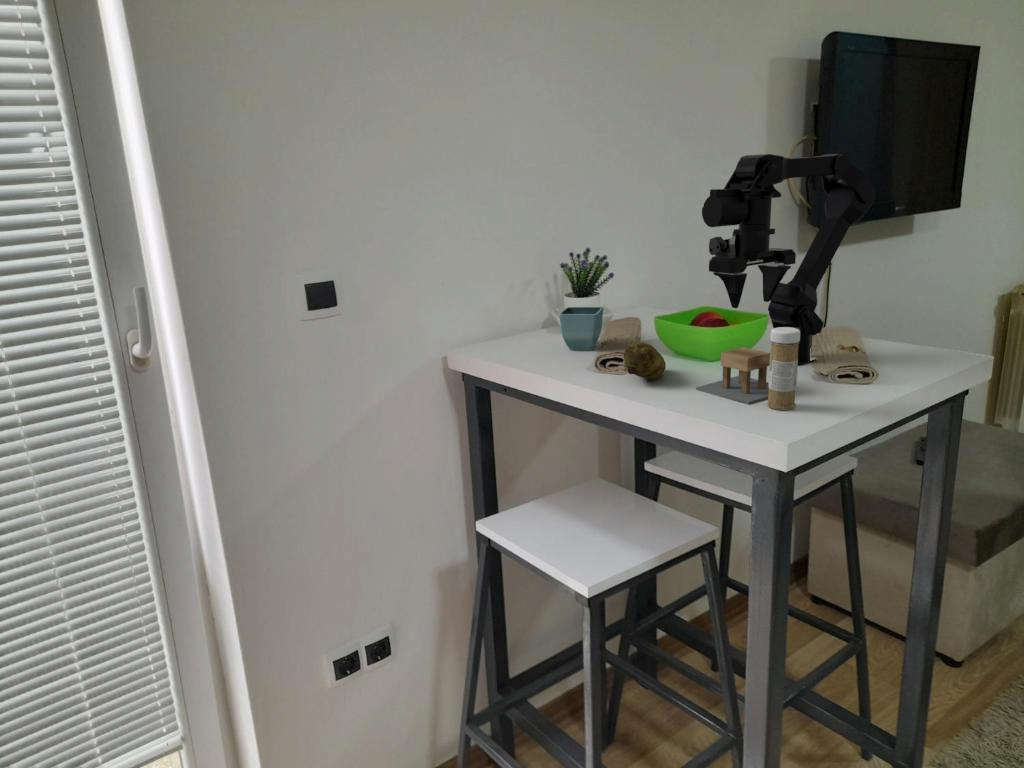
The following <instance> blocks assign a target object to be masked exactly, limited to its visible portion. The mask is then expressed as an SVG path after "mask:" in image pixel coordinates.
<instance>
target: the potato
mask: <svg viewBox="0 0 1024 768" xmlns="http://www.w3.org/2000/svg"><path fill="white" fill-rule="evenodd" d="M623 361H624V366H625V368H626V369H627V373H628V374H629V375H635V376H637V377H639V378H643V379H645V380H652V381H653V380H658V379H659V378H661V377H662V376H663V375H664V373H665V371H666V367H667V366H666V362H665V359H664V357H663V355H661V353H660V352H658V350H657V348H655V347H654V346H653V345H651V344H650V343H647V342H644V341H643V342H641V341H640V342H639V341H638V342H633V343H630V344H629V345H628V346H627V347H625V349H624V352H623Z"/></svg>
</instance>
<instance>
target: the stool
mask: <svg viewBox="0 0 1024 768" xmlns="http://www.w3.org/2000/svg"><path fill="white" fill-rule="evenodd" d="M770 357H771V352H768V351H764V350H763V351H762V350H759V349H754V348H749V347H744V346H742V347H739V348H735V349H731V350H726V351H722V352H720V367H721V366H722V379H721V380H722V388H726V389H727V388H730V381H731V378H732V375H731V374H732V373H731V372H732V369H734V370H738V376H739V379H738V383H740V384H742V393H744V394H748V393H750V378H751V377H752V376H751V375H752V374H751V371H755V370H758V372H757V373H758V374H757V375H758V377H757V380H758V388H760V389H765V388H766V382H767V373H768V367H770Z"/></svg>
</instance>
